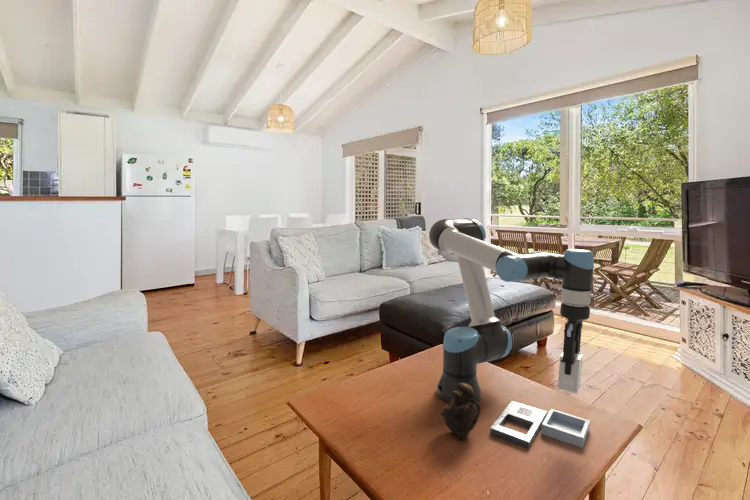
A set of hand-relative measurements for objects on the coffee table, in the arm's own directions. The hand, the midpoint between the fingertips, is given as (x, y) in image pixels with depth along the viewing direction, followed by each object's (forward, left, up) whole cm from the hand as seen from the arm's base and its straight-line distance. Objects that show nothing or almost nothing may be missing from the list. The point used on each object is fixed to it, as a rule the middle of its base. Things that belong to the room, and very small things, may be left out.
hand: (569, 380), depth 114 cm
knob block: (0, 0, -2) cm, 2 cm away
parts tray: (0, 0, -16) cm, 16 cm away
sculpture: (-24, -21, -17) cm, 36 cm away
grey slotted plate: (-12, -5, -16) cm, 21 cm away
